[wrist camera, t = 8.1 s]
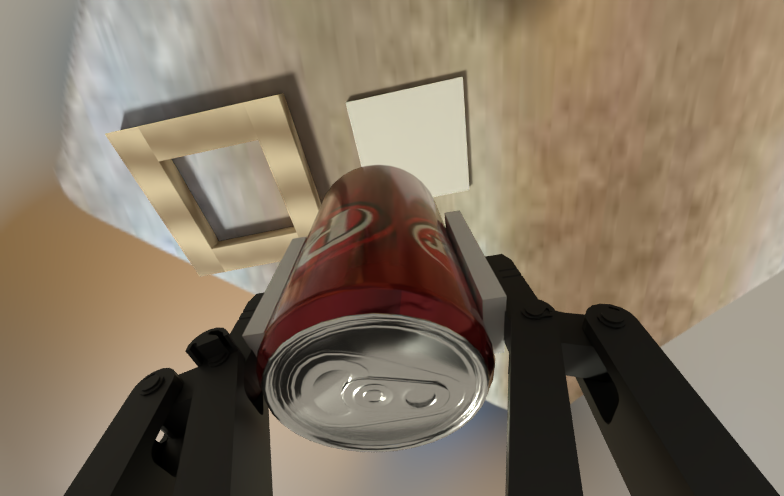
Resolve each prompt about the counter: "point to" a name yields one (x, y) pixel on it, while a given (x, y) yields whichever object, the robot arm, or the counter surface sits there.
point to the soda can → (376, 323)
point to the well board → (208, 132)
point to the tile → (416, 133)
